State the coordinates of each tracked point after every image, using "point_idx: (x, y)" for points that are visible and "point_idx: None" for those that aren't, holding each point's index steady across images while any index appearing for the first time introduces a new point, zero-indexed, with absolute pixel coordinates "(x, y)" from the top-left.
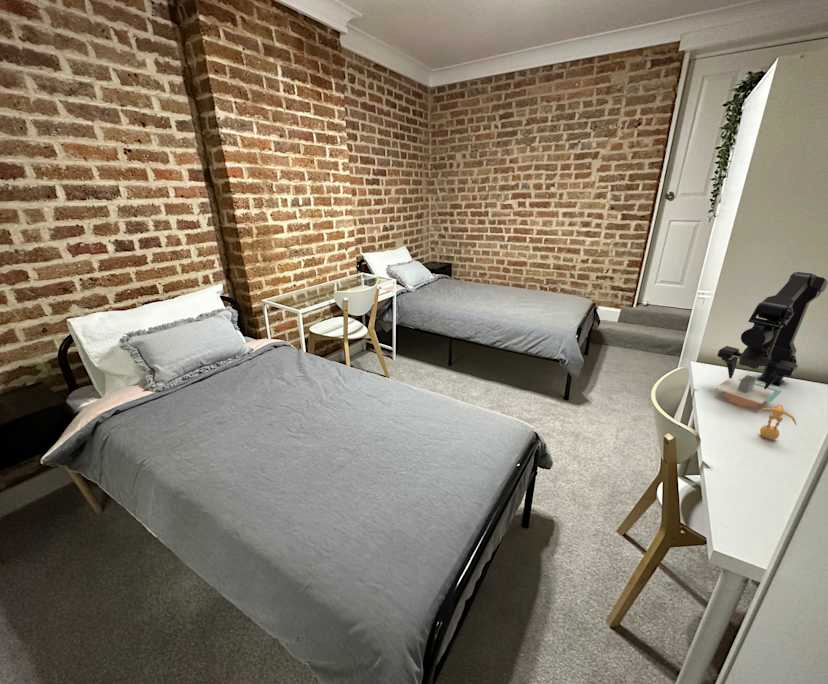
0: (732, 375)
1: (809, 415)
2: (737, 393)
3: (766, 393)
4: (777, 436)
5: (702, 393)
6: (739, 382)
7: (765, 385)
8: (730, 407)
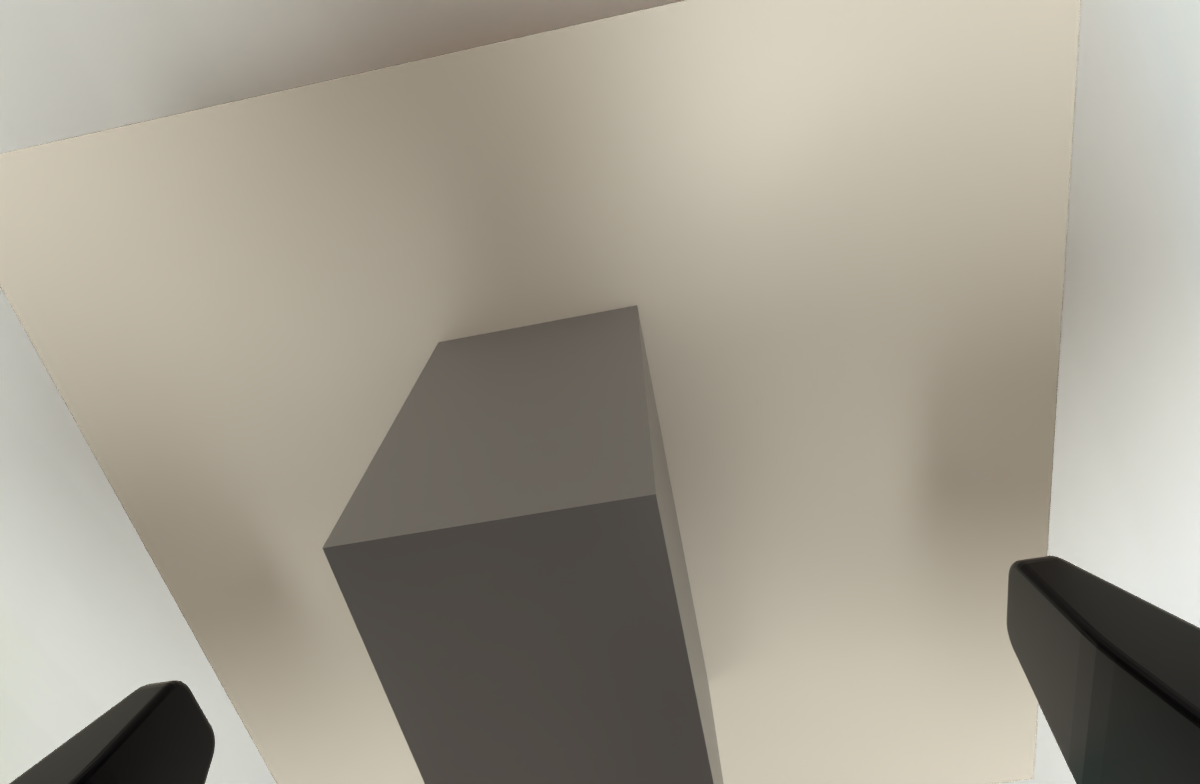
0: (1053, 698)
1: (30, 736)
2: (519, 94)
3: (290, 688)
4: None
5: (1148, 16)
6: (820, 721)
7: (76, 774)
8: None
